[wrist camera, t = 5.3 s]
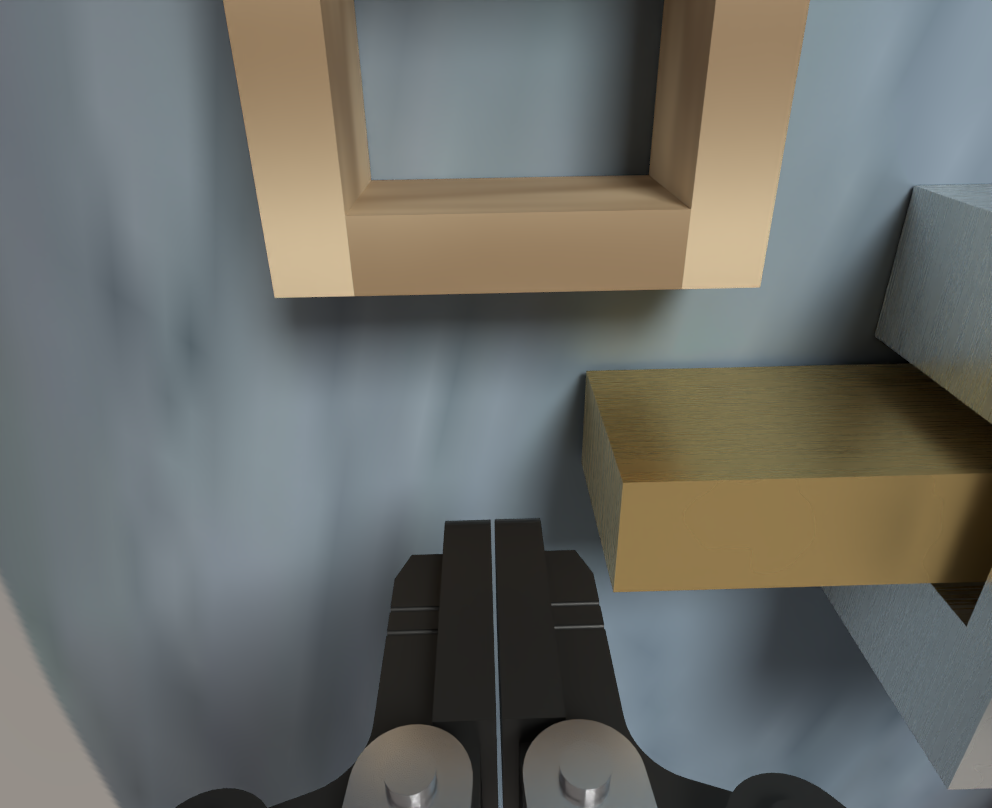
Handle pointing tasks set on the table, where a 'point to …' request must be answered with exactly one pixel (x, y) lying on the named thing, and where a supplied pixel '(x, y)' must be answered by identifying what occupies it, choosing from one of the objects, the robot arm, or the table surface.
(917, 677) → the socket block
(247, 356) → the table surface
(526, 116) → the table surface
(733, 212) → the wooden square frame
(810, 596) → the table surface
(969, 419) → the bar
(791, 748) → the table surface
